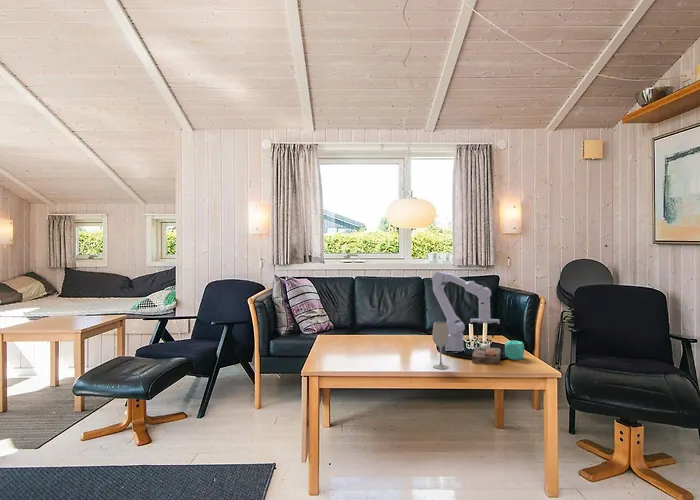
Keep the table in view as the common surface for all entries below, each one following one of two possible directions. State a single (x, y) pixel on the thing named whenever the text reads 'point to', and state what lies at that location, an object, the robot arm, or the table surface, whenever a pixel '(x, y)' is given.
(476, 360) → the button panel
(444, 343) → the wineglass
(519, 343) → the decorative dice
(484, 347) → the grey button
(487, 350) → the terracotta button
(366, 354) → the table surface
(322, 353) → the table surface
